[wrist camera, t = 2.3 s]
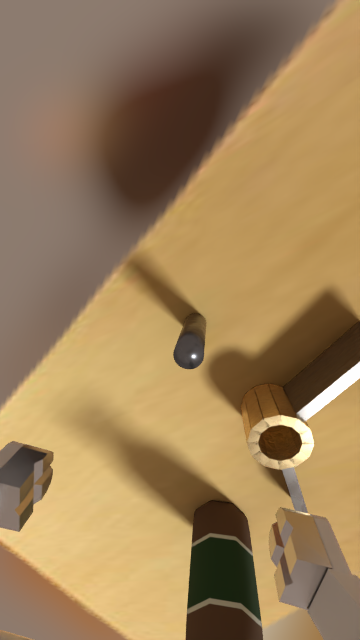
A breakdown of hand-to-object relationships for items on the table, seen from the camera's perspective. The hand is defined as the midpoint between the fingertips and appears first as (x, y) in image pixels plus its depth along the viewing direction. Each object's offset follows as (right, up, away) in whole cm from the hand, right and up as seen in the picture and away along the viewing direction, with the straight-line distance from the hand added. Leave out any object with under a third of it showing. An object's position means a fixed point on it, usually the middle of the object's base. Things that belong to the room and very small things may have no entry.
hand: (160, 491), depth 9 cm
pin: (+2, +6, +20) cm, 21 cm away
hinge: (+16, -5, +21) cm, 27 cm away
